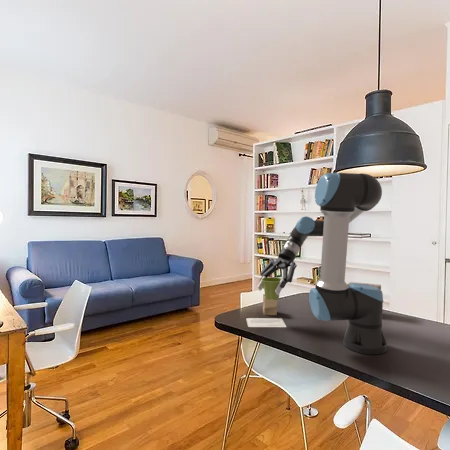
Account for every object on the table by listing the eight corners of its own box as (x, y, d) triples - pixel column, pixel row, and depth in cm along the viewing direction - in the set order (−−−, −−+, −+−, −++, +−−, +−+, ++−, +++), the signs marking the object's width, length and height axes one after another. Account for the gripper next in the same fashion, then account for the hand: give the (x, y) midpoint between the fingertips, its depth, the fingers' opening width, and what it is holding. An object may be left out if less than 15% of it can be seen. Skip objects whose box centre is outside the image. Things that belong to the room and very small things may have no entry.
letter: (286, 327, 143) (286, 327, 143) (248, 327, 143) (248, 326, 143) (281, 318, 155) (281, 318, 155) (246, 318, 155) (246, 318, 155)
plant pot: (272, 302, 142) (272, 282, 141) (257, 297, 149) (257, 279, 148) (286, 298, 148) (286, 279, 147) (271, 294, 155) (271, 276, 154)
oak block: (276, 315, 160) (276, 297, 160) (264, 315, 160) (264, 297, 159) (274, 311, 166) (274, 294, 166) (262, 311, 166) (263, 294, 165)
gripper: (267, 245, 162) (245, 281, 152) (306, 250, 146) (284, 290, 136) (273, 255, 166) (252, 291, 156) (312, 260, 150) (291, 300, 140)
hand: (267, 291), depth 146 cm, fingers closed on plant pot, 9 cm apart
